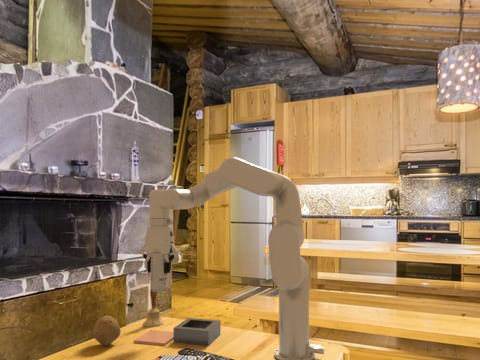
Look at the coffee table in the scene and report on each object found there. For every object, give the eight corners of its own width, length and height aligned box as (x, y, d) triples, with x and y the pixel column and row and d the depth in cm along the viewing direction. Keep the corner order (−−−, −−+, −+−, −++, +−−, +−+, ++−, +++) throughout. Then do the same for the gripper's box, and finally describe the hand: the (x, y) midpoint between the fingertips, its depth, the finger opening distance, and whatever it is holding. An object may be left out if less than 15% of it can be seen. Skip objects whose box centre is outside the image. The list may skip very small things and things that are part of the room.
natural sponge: (85, 347, 131) (86, 317, 132) (105, 339, 139) (105, 311, 139) (105, 351, 127) (106, 320, 128) (124, 343, 135) (125, 314, 136)
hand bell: (159, 327, 153) (159, 286, 154) (139, 326, 154) (140, 285, 156) (167, 321, 161) (167, 282, 162) (148, 320, 163) (149, 281, 164)
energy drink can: (162, 292, 137) (163, 249, 138) (147, 291, 139) (147, 249, 140) (169, 289, 143) (170, 248, 144) (154, 288, 144) (155, 247, 146)
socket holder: (220, 334, 144) (220, 320, 145) (208, 346, 132) (208, 331, 132) (188, 331, 148) (188, 317, 148) (173, 342, 135) (173, 328, 136)
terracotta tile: (179, 334, 144) (179, 332, 144) (165, 345, 132) (165, 343, 132) (150, 332, 147) (150, 329, 147) (133, 342, 135) (133, 340, 136)
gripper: (185, 222, 144) (184, 272, 143) (143, 222, 149) (143, 270, 147) (176, 223, 137) (176, 275, 135) (133, 223, 141) (132, 273, 140)
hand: (158, 272), depth 141 cm, fingers closed on energy drink can, 6 cm apart
